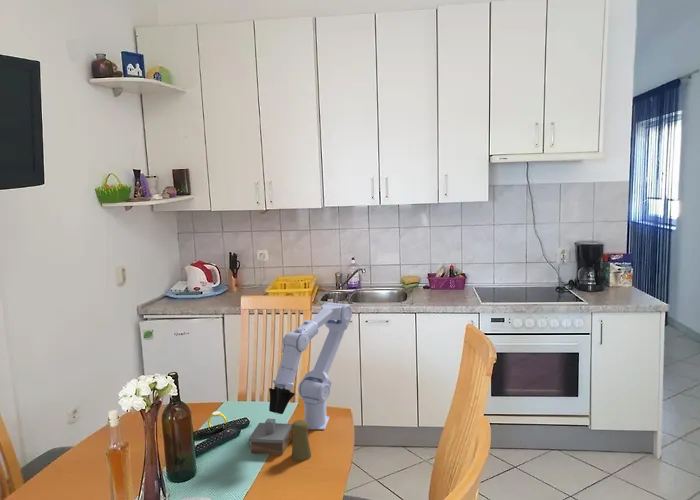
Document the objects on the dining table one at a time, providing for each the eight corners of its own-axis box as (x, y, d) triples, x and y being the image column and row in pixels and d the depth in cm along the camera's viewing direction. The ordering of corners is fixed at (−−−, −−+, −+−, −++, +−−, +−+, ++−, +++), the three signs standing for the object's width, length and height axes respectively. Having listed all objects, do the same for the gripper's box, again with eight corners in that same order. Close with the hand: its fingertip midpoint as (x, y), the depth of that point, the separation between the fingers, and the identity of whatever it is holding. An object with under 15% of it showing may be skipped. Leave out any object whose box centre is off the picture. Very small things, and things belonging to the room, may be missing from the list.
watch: (208, 432, 179) (206, 416, 178) (209, 428, 182) (207, 412, 181) (226, 429, 180) (224, 413, 179) (227, 426, 183) (225, 409, 182)
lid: (259, 425, 174) (258, 412, 173) (292, 426, 172) (291, 413, 172) (248, 441, 163) (247, 427, 162) (283, 443, 161) (282, 429, 161)
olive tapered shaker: (308, 461, 158) (306, 426, 156) (288, 460, 159) (287, 425, 158) (313, 451, 164) (312, 418, 162) (294, 450, 165) (293, 416, 164)
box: (261, 437, 174) (260, 426, 173) (290, 439, 172) (290, 427, 172) (251, 453, 164) (250, 441, 163) (282, 454, 162) (282, 442, 162)
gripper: (270, 366, 173) (257, 408, 168) (282, 365, 160) (269, 411, 155) (290, 372, 175) (278, 413, 171) (303, 371, 162) (291, 416, 158)
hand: (275, 412), depth 163 cm, fingers open, 7 cm apart
